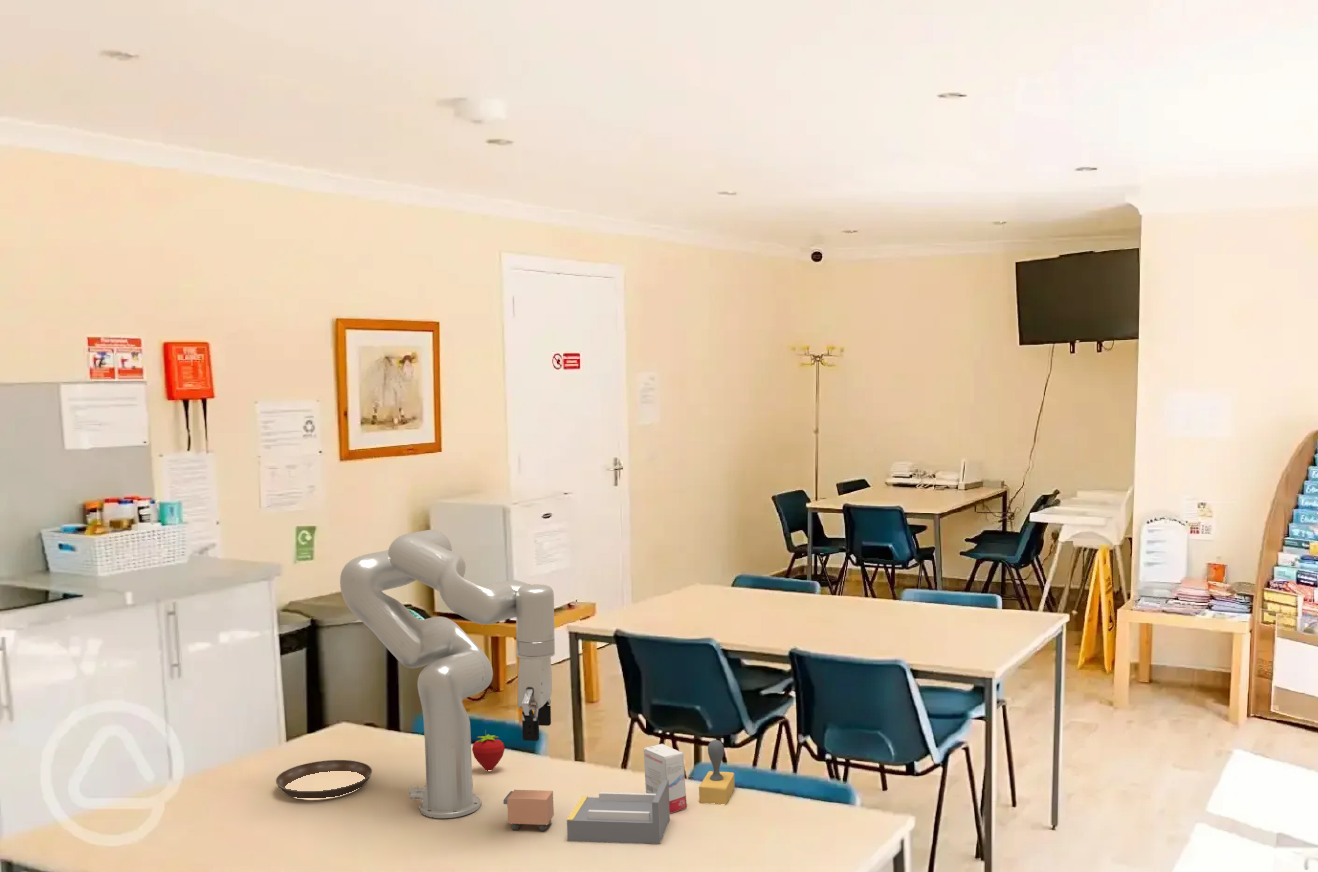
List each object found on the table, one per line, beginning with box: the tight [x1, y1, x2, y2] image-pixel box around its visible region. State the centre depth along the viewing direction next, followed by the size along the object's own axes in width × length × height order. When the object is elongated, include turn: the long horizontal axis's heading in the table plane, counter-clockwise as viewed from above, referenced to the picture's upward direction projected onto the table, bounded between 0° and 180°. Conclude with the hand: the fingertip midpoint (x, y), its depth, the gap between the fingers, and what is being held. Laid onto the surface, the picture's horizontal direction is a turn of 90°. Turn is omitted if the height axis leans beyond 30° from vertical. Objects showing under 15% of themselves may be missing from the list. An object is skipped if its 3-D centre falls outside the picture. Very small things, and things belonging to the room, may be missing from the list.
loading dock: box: [566, 780, 671, 845], centre depth 223 cm, size 18×13×8 cm
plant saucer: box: [275, 759, 373, 798], centre depth 253 cm, size 21×21×3 cm
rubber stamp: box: [698, 739, 736, 805], centre depth 240 cm, size 10×6×12 cm, turn 166°
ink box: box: [643, 743, 688, 814], centre depth 235 cm, size 9×5×12 cm, turn 33°
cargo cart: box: [502, 789, 555, 832], centre depth 226 cm, size 9×5×6 cm, turn 81°
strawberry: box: [471, 729, 505, 772], centre depth 260 cm, size 6×8×10 cm
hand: (537, 732), depth 226 cm, fingers open, 9 cm apart
